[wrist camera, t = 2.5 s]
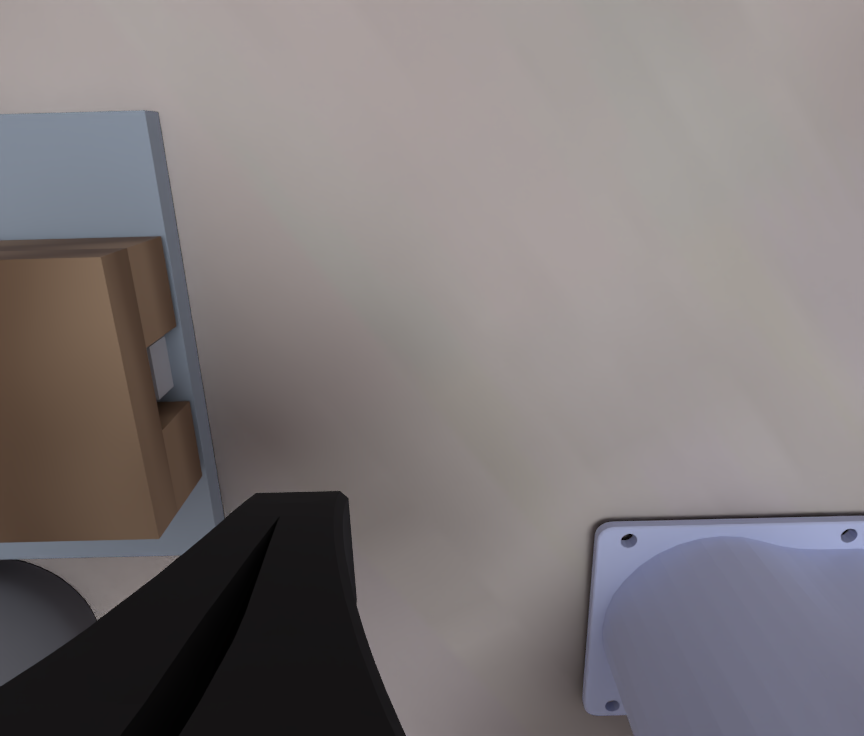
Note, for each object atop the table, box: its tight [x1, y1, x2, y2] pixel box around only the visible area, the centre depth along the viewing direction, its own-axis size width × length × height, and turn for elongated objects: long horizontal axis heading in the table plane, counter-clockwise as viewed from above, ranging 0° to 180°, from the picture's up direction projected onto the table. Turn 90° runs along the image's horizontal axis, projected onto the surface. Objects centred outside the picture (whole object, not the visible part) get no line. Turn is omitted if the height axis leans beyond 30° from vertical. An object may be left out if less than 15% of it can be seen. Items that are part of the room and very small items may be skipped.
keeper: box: [0, 236, 202, 543], centre depth 16 cm, size 5×7×3 cm
